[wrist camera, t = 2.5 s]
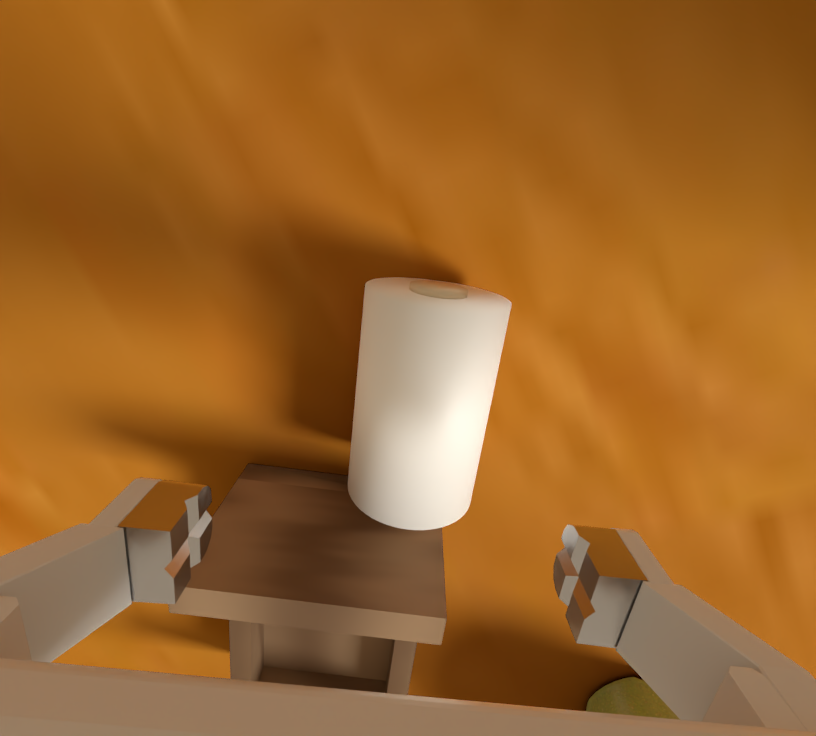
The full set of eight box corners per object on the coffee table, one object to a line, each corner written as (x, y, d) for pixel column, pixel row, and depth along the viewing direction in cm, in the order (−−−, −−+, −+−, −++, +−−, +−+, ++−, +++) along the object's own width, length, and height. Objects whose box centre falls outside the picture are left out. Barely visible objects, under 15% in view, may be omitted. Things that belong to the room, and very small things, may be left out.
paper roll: (374, 266, 17) (354, 290, 13) (501, 283, 17) (526, 313, 13) (357, 450, 20) (335, 524, 16) (465, 465, 20) (475, 543, 16)
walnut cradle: (439, 486, 21) (446, 618, 14) (406, 676, 25) (399, 841, 19) (248, 463, 21) (166, 585, 14) (249, 657, 25) (188, 817, 19)
